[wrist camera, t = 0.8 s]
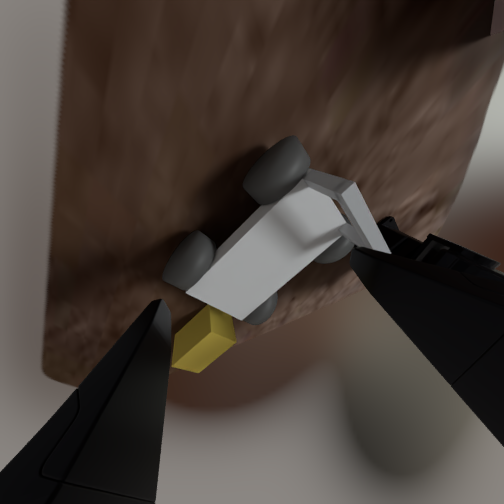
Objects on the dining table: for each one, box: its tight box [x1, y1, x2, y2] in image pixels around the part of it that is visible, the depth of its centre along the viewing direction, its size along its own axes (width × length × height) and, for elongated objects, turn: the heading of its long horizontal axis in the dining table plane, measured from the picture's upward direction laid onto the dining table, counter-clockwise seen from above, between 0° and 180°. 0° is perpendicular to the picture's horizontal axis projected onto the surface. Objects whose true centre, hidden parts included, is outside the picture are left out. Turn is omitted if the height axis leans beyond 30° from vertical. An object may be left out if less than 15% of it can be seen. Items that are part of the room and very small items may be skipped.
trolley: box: [162, 136, 391, 325], centre depth 19 cm, size 18×12×10 cm
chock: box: [171, 304, 236, 373], centre depth 28 cm, size 4×8×5 cm, turn 133°
